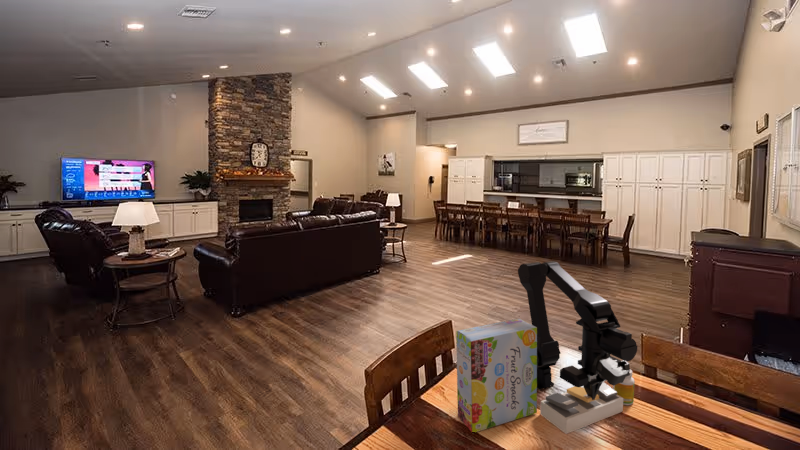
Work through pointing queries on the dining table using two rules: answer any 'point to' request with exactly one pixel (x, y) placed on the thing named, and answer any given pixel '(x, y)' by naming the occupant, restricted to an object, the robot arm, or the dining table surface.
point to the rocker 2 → (606, 391)
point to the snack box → (496, 373)
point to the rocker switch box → (581, 412)
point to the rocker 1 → (562, 401)
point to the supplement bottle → (626, 389)
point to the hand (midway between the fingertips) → (591, 399)
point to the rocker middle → (581, 394)
